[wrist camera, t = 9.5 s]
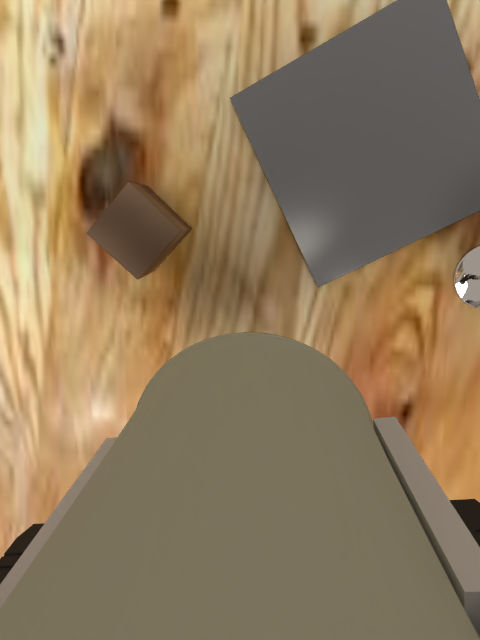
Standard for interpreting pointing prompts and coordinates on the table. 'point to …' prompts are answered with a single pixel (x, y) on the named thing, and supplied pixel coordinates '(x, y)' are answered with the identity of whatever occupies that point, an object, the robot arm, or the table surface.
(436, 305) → the table surface
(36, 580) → the can
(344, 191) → the coaster
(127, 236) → the walnut block
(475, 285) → the wineglass
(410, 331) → the table surface
